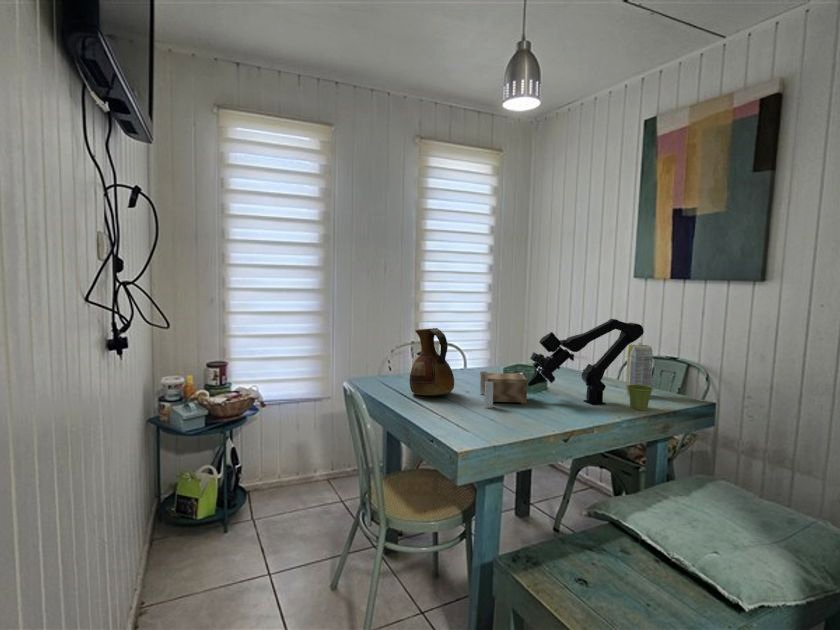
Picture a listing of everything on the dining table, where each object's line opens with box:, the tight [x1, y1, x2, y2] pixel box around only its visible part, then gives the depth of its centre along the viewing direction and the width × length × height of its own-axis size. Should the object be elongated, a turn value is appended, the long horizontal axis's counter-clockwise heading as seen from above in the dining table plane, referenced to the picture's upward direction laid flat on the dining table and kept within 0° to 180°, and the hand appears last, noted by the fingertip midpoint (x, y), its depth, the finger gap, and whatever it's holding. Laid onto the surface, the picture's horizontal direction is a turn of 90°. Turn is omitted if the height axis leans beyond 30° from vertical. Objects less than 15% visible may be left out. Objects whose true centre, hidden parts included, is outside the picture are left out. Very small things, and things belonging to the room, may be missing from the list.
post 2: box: [484, 382, 494, 409], centre depth 186 cm, size 3×3×10 cm
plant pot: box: [627, 385, 654, 411], centre depth 187 cm, size 9×9×9 cm
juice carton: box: [625, 342, 654, 397], centre depth 207 cm, size 9×8×24 cm
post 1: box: [479, 370, 489, 395], centre depth 208 cm, size 3×3×10 cm
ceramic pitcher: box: [409, 327, 455, 396], centre depth 204 cm, size 20×20×30 cm
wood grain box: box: [483, 372, 528, 406], centre depth 197 cm, size 16×12×10 cm
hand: (528, 385), depth 196 cm, fingers closed
